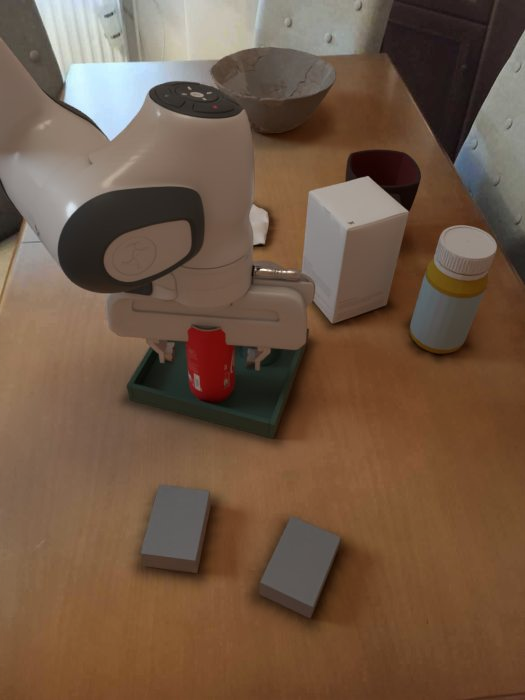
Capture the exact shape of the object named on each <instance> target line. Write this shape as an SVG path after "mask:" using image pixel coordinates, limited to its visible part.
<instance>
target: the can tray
mask: <svg viewBox="0 0 525 700" xmlns="http://www.w3.org/2000/svg"><path fill="white" fill-rule="evenodd" d="M309 332H310V329H309V328H307V334H306V343H305V344H304V345H303V346H302V347H300V348H299V349H297V350H288V349H281V353H280V356H279V358H278V359H277V360H276V361H274V362H273V363H271V364H268V365H260V371H258V370H247V369H246V366H247V365H246V360H245V359H244V358H243V357H242V355H241V353H240V346H237V345H235V386H234V389H233V391H232V392H231V394H230V396H229V397H228V398H227V399H226V400H225V401H223V402H221V403H218V404H210V403H206V402H202V401H199V400H198V399H197V398H196V397H195V395H194V394H193V393H192V391H191V389H190V386H189V376H188V366H187V355H186V345H185V341H173V340H167V342H172V343H175V349H176V357H175V359H174V364H172V363H160V359H159V353H157V352H156V351H155V350H154V349H153V348H151V347H150V346H149V347H148V349H147V351H146V352H145V354H144V355H143V357H142V359H141V361H140V362H139V364H138V366H137V367H136V369H135V370H134V372H133V374H132V375H131V377H130V379H129V381H128V382H127V384H126V390H127V395H128V399H129V401H132V402H135V403H139V404H143V405H147V406H151V407H155V408H158V409H162V410H166V411H169V412H172V413H173V412H174V413H177V414H181V415H184V416H188V417H191V418H195V419H199V420H202V421H207V422H210V423H213V424H217V425H221V426H224V427H229V428H232V429H236V430H239V431H243V432H246V433H251V434H255V435H258V436H261V437H265V438H270V439H274V438H275V436H276V434H277V430H278V427H279V425H280V422H281V419H282V416H283V413H284V410H285V408H286V405H287V402H288V400H289V396H290V394H291V392H292V391H291V390H292V388H293V385H294V382H295V379H296V376H297V374H298V371H299V368H300V365H301V362H302V360H303V357H304V355H305V352H306V348H307V346H308V341H309V334H310V333H309Z"/></svg>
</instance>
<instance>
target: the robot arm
mask: <svg viewBox="0 0 525 700" xmlns="http://www.w3.org/2000/svg"><path fill="white" fill-rule="evenodd" d="M254 149H255V148H254V140H253V133H252V128H251V127H250V123H249V119H248V116H247V113H246V111H245V109H244V108H243V107H242V106H241V105H240V104H239V103H238V102H237V101H236V100H234V99H233V98H232V97H230V96H229V95H227V94H226V93H224V92H222V91H220V90H219V89H218V87H215V86H212V85H207V84H205V83H201V82H195V81H187V80H172V81H166V82H163V83H158V84H157V85H154V86H153V87H151V88H150V89H149V90H148V91H147V93H146V95H145V98H144V101H143V103H142V105H141V108H139V110H138V112H137V113H136V114H135V116H134V117H133V118H132V120H130V122H129V123H128V124H127V125H126V126H125V127H124V129H123V130H121V131H120V132H119V133H118V134H117V135H116V136H115V137H114V138H112V139H111V140H110V139H109V137H108V136H107V135H106V134H105V132H103V130H102V129H101V127H99V125H98V124H97V123H96V122H95V121H94V120H93V119H92V118H91V117H89V116H88V114H86V113H85V112H83V111H82V110H80V109H78V108H77V107H74V106H72V105H70V104H69V103H67V102H65V101H63V100H61V99H58V98H56V97H55V96H53V95H51V94H49V93H48V92H46V90H44V89H43V88H42V87H41V86H40V85H39V84H38V83H37V82H36V81H35V80H34V78H33V77H32V76H31V74H30V73H29V71H28V70H27V69H26V68H25V67H24V65H23V64H22V62H21V61H20V60H19V59H18V57H17V56H16V55H15V54H14V52H13V51H12V50H11V49H10V47H9V46H8V44H7V43H6V42H5V41H4V40H3V38H2V37H1V36H0V192H1V194H2V195H3V196H4V197H5V198H6V200H7V201H8V202H9V203H10V204H11V205H12V206H13V208H15V210H16V211H17V212H18V213H19V214H20V215H21V216H22V218H23V220H24V221H25V222H26V224H27V225H28V226H29V228H30V229H31V230H32V232H33V233H34V234H35V236H36V237H37V239H38V240H39V241H40V243H41V244H42V245H43V247H44V248H45V249H46V251H47V253H48V254H49V255H50V257H51V258H52V259H53V260H54V261H55V263H56V264H57V266H58V267H59V268H60V270H61V271H62V272H63V274H64V275H65V276H66V278H67V279H68V280H69V281H70V282H72V283H73V284H74V285H75V286H77V287H79V288H81V289H82V290H85V291H88V292H91V293H96V294H105V316H106V323H107V327H108V330H110V331H111V332H112V333H113V334H115V335H116V336H118V337H121V338H135V339H136V338H137V339H145V342H146V344H147V345H148V346H149V347H151V348H153V349H154V350H155V351H156V352H157V353H159V359H160V363H172V364H174V359H175V357H176V349H175V343H172V342H167V340H173V341H185V342H188V330H189V329H190V328H191V326H190V325H193V326H194V327H195V326H196V325H201V326H214V327H217V328H220V327H222V328H221V329H222V330H223V331H224V332H225V334H226V344H227V345H237V346H250V347H256V348H255V349H249V348H248V352H247V360H246V365H247V366H246V369H247V370H258V371H260V363H261V361H262V360H263V359H264V358H265V357H266V356H267V355H268V354H269V353H271V348H275V349H288V350H297V349H299V348H300V347H302V346H303V345H304V344H305V343H306V334H307V329H308V307H310V306H311V304H312V303H313V302H314V301H313V300H314V295H315V283H314V281H313V279H311V278H310V277H309V276H307V275H305V274H302V269H298V268H293V267H291V268H290V267H288V268H283V269H279V268H273V267H266V266H254V265H253V262H254V245H253V229H252V225H251V223H250V218H249V214H250V210H251V208H252V205H253V204H254V202H255V183H256V181H255V178H256V177H255V176H256V173H255V172H256V171H255V150H254Z"/></svg>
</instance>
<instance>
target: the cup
mask: <svg viewBox="0 0 525 700" xmlns="http://www.w3.org/2000/svg"><path fill="white" fill-rule="evenodd" d="M367 176H369V177H370V178H371V179H372V180H373V181H374V182H375V183H376V184H377V185H379V186H380V187H381V188H382V189H383V190H384V191H385V192H387V193H388V194H389V195H390V196H391V197H392V198H393V199H395V200H396V201H397V202H398V203H399V204H400V205H402V206H403V207H404V208H405V209H406V210H407V211H409V213H410V212H411V209H412V207H413V205H414V202H415V200H416V197H417V194H418V191H419V188H420V183H421V180H422V172H421V169H420V167H419V165H418V164H417V162H416V160H415V159H414V158H412V157H411V156H410V155H409V154H408V153H406V152H404V151H399V150H393V149H378V148H377V149H364V150H358V151H353V152H350V154H349V156H348V157H347V161H346V168H345V179H344V180H345V181H344V182H348V181H351V180H354V179H358V178H362V177H367Z"/></svg>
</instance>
